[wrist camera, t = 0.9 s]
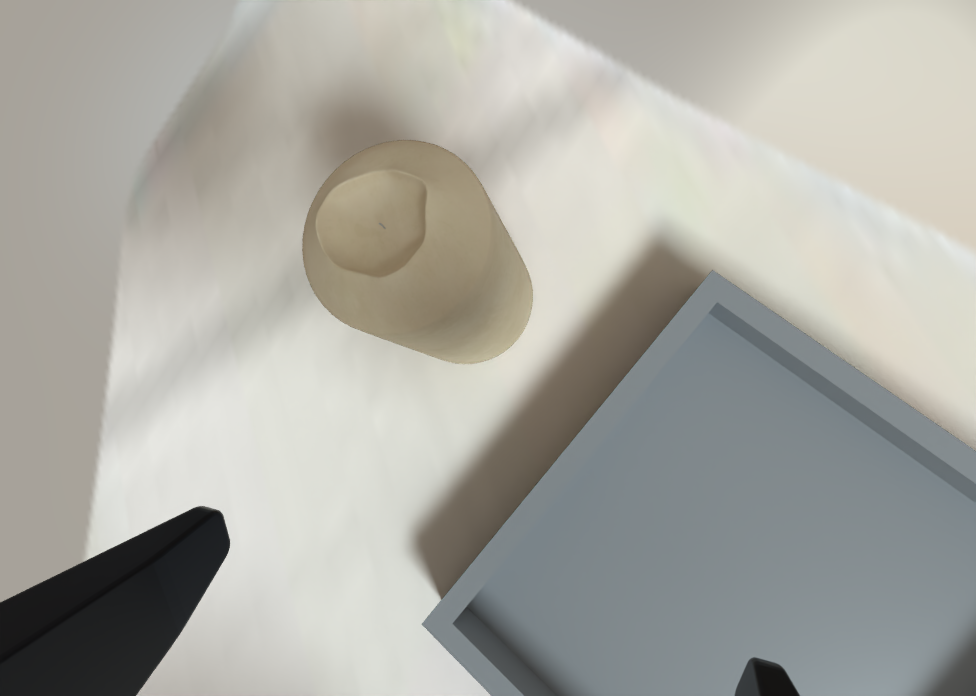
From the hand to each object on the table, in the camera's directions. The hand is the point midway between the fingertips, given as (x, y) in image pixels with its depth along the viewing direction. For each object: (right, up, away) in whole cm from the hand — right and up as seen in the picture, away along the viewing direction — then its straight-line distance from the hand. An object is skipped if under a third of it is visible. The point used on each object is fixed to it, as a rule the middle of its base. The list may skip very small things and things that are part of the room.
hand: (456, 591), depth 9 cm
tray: (+10, -5, +11) cm, 15 cm away
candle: (0, +6, +15) cm, 16 cm away
